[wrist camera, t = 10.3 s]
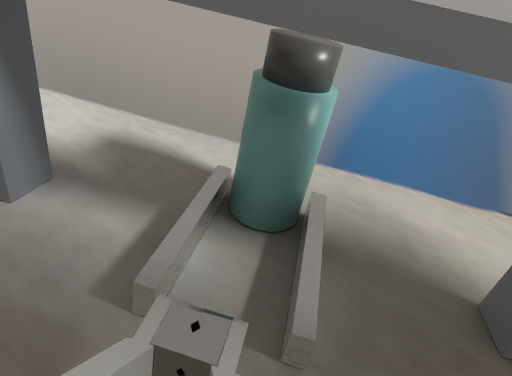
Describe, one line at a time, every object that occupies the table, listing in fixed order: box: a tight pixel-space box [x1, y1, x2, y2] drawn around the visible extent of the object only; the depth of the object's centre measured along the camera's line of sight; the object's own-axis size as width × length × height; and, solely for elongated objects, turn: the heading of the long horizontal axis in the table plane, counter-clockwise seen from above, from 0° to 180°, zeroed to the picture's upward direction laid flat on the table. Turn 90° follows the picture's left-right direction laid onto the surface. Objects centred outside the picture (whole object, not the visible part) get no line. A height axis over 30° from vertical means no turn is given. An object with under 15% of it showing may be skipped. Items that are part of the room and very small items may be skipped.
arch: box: [0, 0, 512, 360], centre depth 19 cm, size 39×4×17 cm, turn 77°
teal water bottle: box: [229, 29, 343, 232], centre depth 25 cm, size 6×6×14 cm
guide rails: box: [133, 165, 326, 369], centre depth 23 cm, size 10×14×2 cm
